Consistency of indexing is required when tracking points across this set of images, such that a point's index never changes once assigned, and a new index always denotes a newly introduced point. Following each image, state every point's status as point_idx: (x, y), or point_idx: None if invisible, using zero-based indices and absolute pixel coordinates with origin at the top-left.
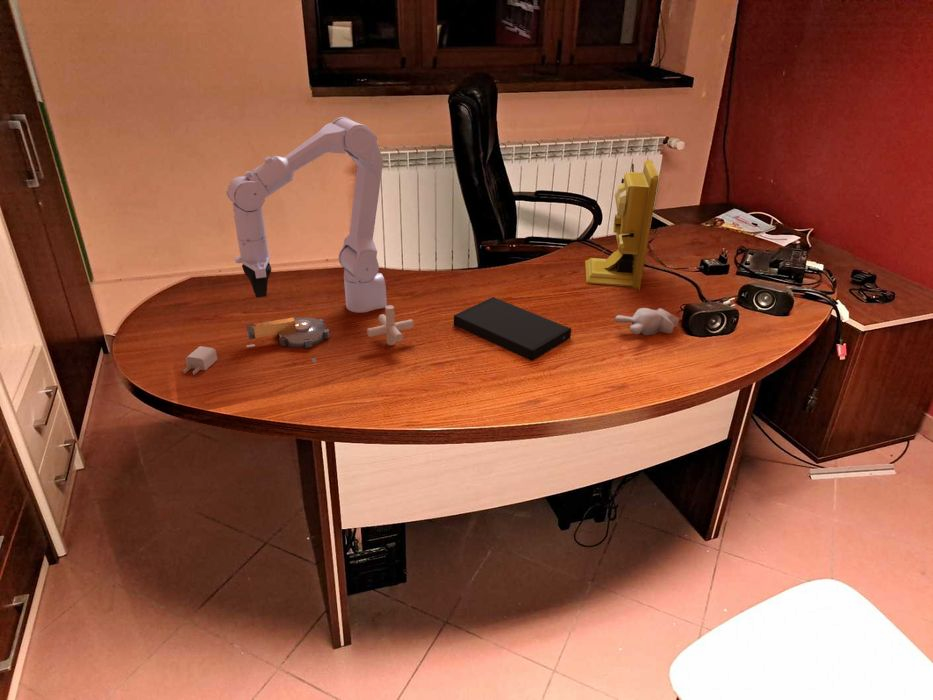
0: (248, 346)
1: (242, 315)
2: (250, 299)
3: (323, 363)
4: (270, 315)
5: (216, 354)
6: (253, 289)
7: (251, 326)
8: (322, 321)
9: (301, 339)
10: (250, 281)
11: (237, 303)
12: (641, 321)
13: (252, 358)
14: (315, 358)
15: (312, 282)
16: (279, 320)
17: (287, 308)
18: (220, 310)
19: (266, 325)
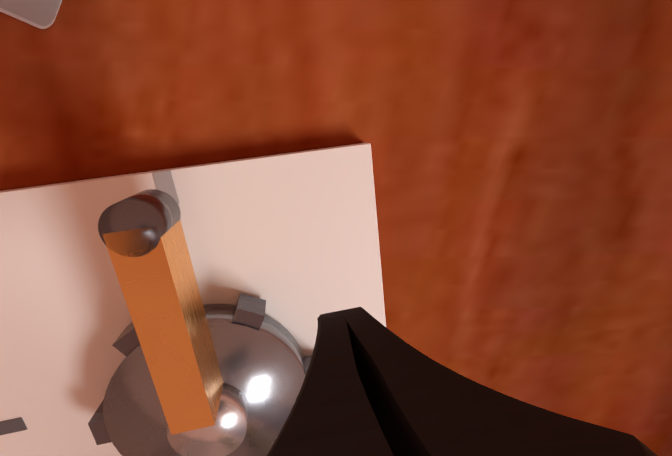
0: (159, 178)
1: (497, 146)
2: (615, 177)
3: None
4: (459, 251)
5: (5, 13)
6: (315, 351)
7: (127, 232)
8: None
9: (104, 413)
10: (284, 429)
11: (605, 126)
12: None
13: None
14: (20, 430)
15: (639, 374)
16: (187, 369)
17: (491, 307)
18: (575, 52)
19: (131, 311)
